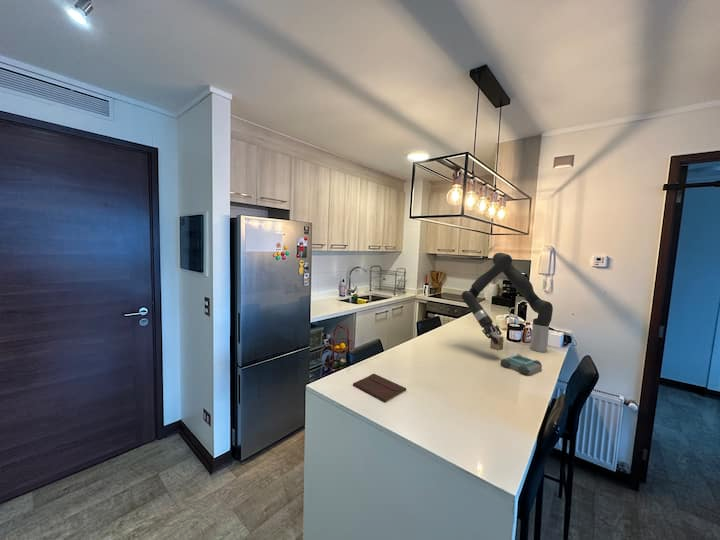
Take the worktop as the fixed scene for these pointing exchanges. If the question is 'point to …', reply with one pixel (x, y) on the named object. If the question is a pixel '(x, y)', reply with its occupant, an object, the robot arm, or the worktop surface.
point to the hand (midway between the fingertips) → (499, 342)
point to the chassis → (522, 364)
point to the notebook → (379, 387)
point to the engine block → (500, 344)
